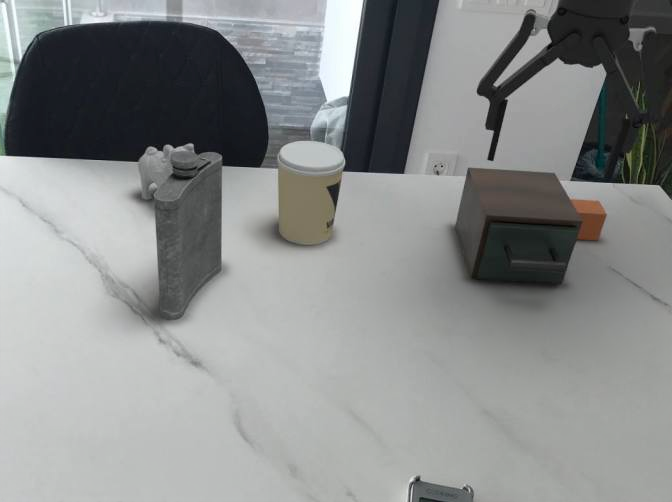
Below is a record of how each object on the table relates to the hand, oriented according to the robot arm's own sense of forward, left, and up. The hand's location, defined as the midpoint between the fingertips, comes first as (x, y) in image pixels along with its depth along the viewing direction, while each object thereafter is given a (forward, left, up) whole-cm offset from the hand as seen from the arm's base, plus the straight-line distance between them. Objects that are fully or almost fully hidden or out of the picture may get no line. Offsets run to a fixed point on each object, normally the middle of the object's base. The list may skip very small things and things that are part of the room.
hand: (548, 166), depth 93 cm
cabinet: (-1, -10, -18) cm, 20 cm away
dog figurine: (+48, -19, -18) cm, 55 cm away
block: (-14, -18, -18) cm, 29 cm away
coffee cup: (+28, -13, -18) cm, 36 cm away
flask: (+43, +4, -18) cm, 47 cm away
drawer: (-1, -6, -17) cm, 18 cm away
